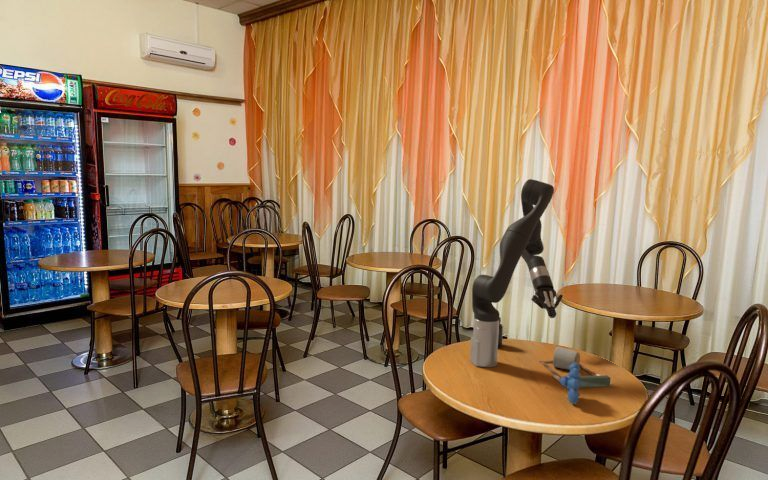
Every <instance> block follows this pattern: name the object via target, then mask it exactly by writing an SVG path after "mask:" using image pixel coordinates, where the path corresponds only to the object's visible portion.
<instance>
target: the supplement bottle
mask: <svg viewBox="0 0 768 480" xmlns="http://www.w3.org/2000/svg"><path fill="white" fill-rule="evenodd" d="M501 322H502V321H501V317H500V316H499V334H498V349H499V348H501V347H502V346H503V335H504V332H503V331H504V326H503V324H502V323H501Z"/></svg>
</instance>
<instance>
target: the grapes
mask: <svg viewBox="0 0 768 480" xmlns="http://www.w3.org/2000/svg"><path fill="white" fill-rule="evenodd" d="M581 369H582V368H581V367H580V366H579V365H578V364H577V363H576V362H574V363H572V364H571V365H570V366H569V370H568V371H569V372H568V373H567V376H565V375H564V376H561V377H562V378H561V379H560V380H559V381H560V382H559V381H558V382H559V383H560V384H561V385H562V387H565V388H566V391H567V392H568V393H567V400H568V401H569V402H570V404H572V405H575V404H577V403H578V402H579V400H580V399H579V397H580V396H581V394H580V392H579V388H581V387H580V386H581V385H582V383H581V381H580V380H579V376H582V373H581V371H580V370H581Z"/></svg>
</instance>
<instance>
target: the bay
mask: <svg viewBox="0 0 768 480" xmlns="http://www.w3.org/2000/svg"><path fill="white" fill-rule="evenodd" d="M539 363H540V364H541V365H542V366H543V367H545V368H546V369H547V370H548V371H549V372H550V373H551V374H553V379H555V380H556V381H557V382H558V383H560V381H559V380H560V379H561V378H562V377H563V376H561V375H560V374H559V373H558V372H556V371H555V370H554V369H553V368H551V366H549V365H548V364H553V360H539ZM579 367H580V368H581V369H582V370H584V371H585V372H587V373H588V375H580V376H579V380H580V381H581V383H582V385H581V386H580V387H579V388H596V387H597V388H599V387H611V386H612V385H613V383H612V382H611V376H609V375H608V374H607V375H602V374H599V373H597V374H595V373H594V372H592V371H591V370H590V369H588V368H587V367H585V366H584V365H583V364H582V363H581V362H580V363H579Z"/></svg>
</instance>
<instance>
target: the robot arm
mask: <svg viewBox="0 0 768 480" xmlns="http://www.w3.org/2000/svg"><path fill="white" fill-rule="evenodd" d="M520 192H521V193H520V201H521V208H522V214H523V217H521V218H519V219H518V220H516V221H514V222H513V223H511V224H510V225H509V226H508V227H507V228H506V230H505V232H504V234H503V236H502V238H501V239H500V243H499V256H500V260H499V265H498V268H497V270H496V272H495V274H494V276H492V275H487V274H479V275H477V276H476V278H475V279H474V280H473V282H472V283H473V284H472V289H471V296H472V297H471V298H472V299H471V301H472V302H471V303H472V305H471V308H472V312H473V333H472V336H471V337H470V353H469V354H470V355H469V361H470V362H471V363H472V365H474V366H475V367H481V368H492V367H496V366H497V365H498V354H499V352H498V349H499V348H498V334H499V317H500V311H499V310H498V309H497V308H496V307H495V306H494V305H493V304H496V303H499V302H500V301H501V300H503V298H504V296H506V293H507V290H508V287H509V285H510V282H511V280H512V278H513V274H514V272H515V270H516V268H517V266H518V263H519V262H520V259H521V258H522V259H523V260H524V262H525V263H526V265H527V270H528V272H529V275H530V280H531V283H532V287H533V289H534V295H533V296H532V297H531V301H532V302H533V303H535V304H536V306H538V307H540V309H542V310H543V309H545V310H546V312H547V316H548V317H549V318H550V319H555V318H556V317H557V312H556V309H557V308H558V307H559V305H560V302H561V301H562V299H563V297H564V296H563V295H562V294H558V293H557V291H556V290H555V288H554V284H553V282H552V278H551V275H550V272H549V270H548V269H547V265H546V261H545V259H544V258H543V257H542V256H540V255H541V254H542V253H543V252H544V244H543V240H542V234H541V233H542V221H541V218H542V216H543V214H544V213H545V211H546V209H547V207H548V206H549V204H550V203H551V200H552V199H553V196H554V194H555V187H554V186H553V185H552V184H550V183H546V182H543V181H540V180H537V179H532V178H529V179H527V180H526V181H525V182H524V183H523V186H522V188H521V191H520ZM555 300H556V301H555Z"/></svg>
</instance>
